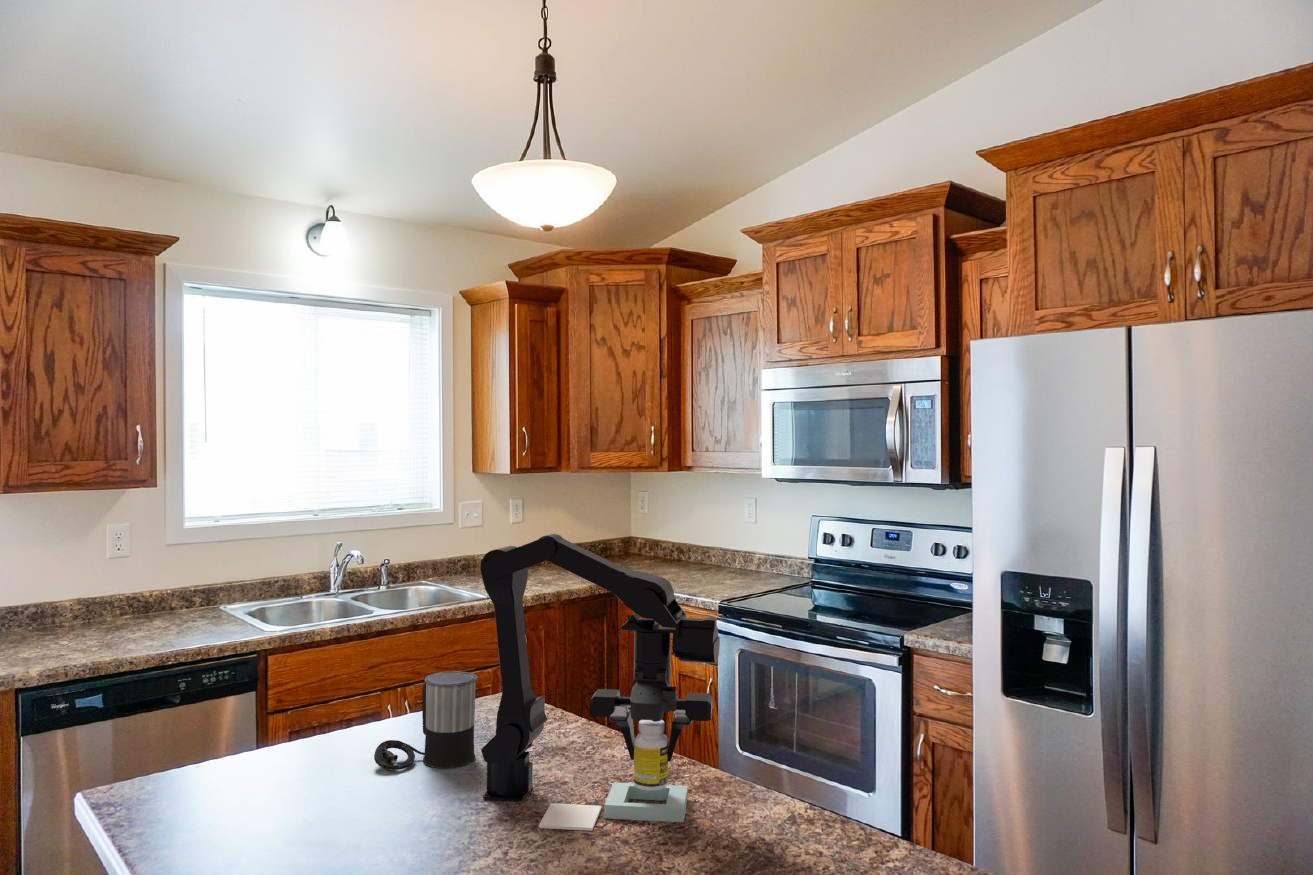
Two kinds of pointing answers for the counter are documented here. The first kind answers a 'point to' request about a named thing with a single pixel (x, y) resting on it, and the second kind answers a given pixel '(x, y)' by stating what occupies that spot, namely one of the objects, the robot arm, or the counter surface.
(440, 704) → the milk frother
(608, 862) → the counter surface
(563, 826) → the white square tile
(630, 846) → the counter surface
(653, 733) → the supplement bottle
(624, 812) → the holder block
